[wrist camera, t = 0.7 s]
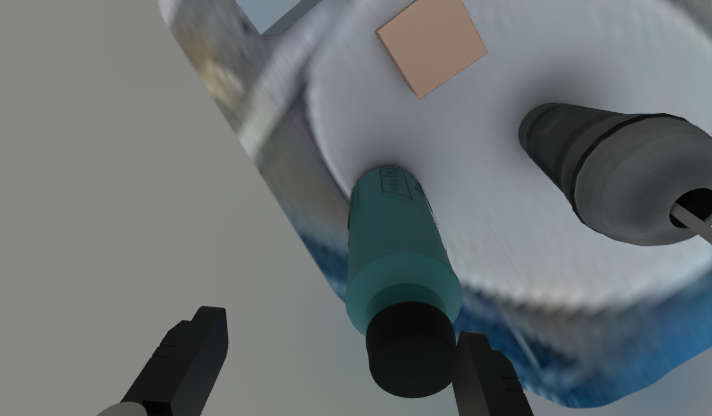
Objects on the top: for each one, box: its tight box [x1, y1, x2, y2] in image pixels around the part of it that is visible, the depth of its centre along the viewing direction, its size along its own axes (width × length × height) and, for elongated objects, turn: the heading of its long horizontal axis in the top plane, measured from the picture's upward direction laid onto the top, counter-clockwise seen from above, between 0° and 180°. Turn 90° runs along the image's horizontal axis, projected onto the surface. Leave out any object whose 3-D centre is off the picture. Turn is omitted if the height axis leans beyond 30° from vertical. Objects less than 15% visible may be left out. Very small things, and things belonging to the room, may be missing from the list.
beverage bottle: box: [345, 166, 462, 398], centre depth 25 cm, size 6×7×20 cm
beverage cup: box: [519, 103, 712, 246], centre depth 22 cm, size 7×7×20 cm
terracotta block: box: [375, 0, 488, 100], centre depth 26 cm, size 5×5×6 cm
